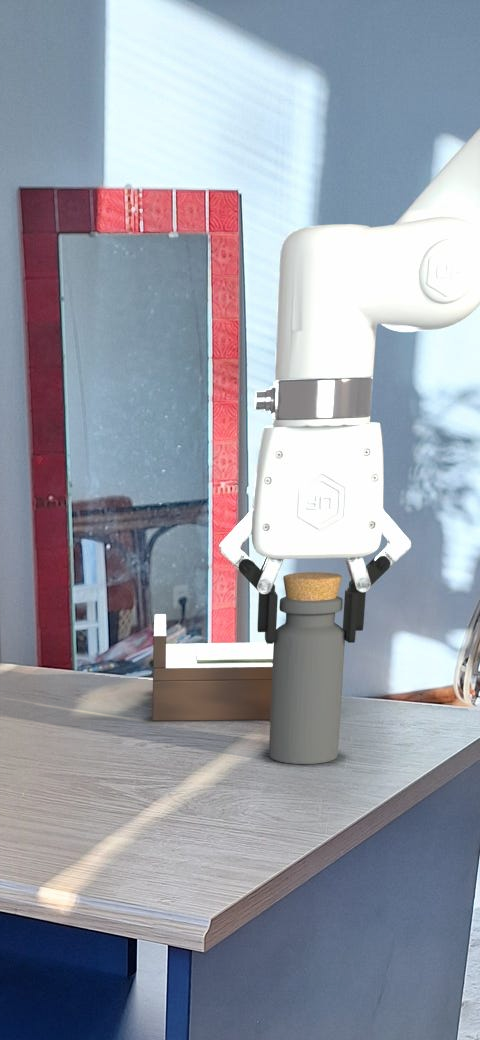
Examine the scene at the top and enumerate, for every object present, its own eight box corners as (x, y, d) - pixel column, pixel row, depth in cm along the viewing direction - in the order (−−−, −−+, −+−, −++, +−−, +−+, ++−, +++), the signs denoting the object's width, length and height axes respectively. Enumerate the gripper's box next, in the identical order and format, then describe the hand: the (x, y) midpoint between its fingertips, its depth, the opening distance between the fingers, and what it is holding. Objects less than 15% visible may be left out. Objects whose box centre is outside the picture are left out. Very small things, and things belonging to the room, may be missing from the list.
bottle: (351, 759, 125) (363, 576, 119) (292, 767, 123) (301, 581, 117) (313, 746, 130) (323, 569, 124) (255, 753, 128) (262, 574, 122)
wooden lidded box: (308, 690, 152) (312, 611, 149) (321, 719, 140) (326, 633, 136) (153, 692, 154) (154, 614, 151) (152, 721, 141) (153, 636, 138)
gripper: (212, 409, 112) (206, 650, 120) (442, 402, 111) (422, 646, 118) (209, 407, 119) (203, 635, 127) (426, 401, 117) (407, 632, 125)
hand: (309, 638), depth 122 cm, fingers closed on bottle, 5 cm apart
